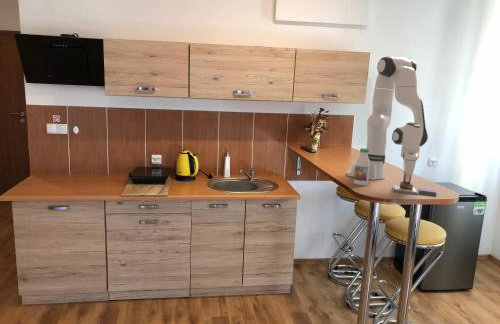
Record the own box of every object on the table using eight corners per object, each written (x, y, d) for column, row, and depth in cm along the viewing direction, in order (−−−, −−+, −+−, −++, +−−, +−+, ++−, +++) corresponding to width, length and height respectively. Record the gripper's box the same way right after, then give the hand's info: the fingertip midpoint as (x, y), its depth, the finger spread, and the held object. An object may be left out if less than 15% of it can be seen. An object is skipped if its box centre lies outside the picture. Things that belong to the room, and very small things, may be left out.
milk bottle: (357, 181, 225) (361, 147, 221) (370, 184, 220) (374, 149, 217) (351, 183, 220) (354, 148, 216) (364, 186, 215) (368, 150, 211)
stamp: (400, 188, 209) (402, 167, 207) (399, 186, 213) (402, 166, 211) (412, 190, 207) (415, 169, 205) (411, 188, 212) (414, 167, 209)
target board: (393, 191, 208) (393, 189, 207) (392, 187, 217) (392, 184, 217) (417, 194, 204) (418, 192, 204) (415, 190, 214) (416, 187, 213)
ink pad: (419, 194, 206) (419, 190, 205) (418, 191, 211) (418, 187, 211) (436, 196, 203) (436, 192, 203) (434, 193, 209) (435, 189, 209)
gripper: (402, 150, 217) (399, 174, 220) (404, 156, 198) (401, 183, 201) (414, 151, 215) (411, 176, 218) (418, 157, 196) (414, 184, 199)
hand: (406, 179), depth 209 cm, fingers open, 8 cm apart
